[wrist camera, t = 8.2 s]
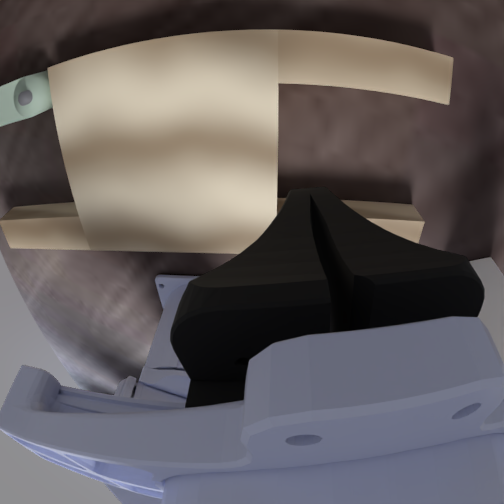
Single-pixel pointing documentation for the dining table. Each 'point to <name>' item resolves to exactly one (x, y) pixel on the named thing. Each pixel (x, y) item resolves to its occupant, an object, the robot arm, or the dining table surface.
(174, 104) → the tan long rail frame
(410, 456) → the robot arm
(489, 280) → the milk
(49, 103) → the hinged leg
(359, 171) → the dining table surface
